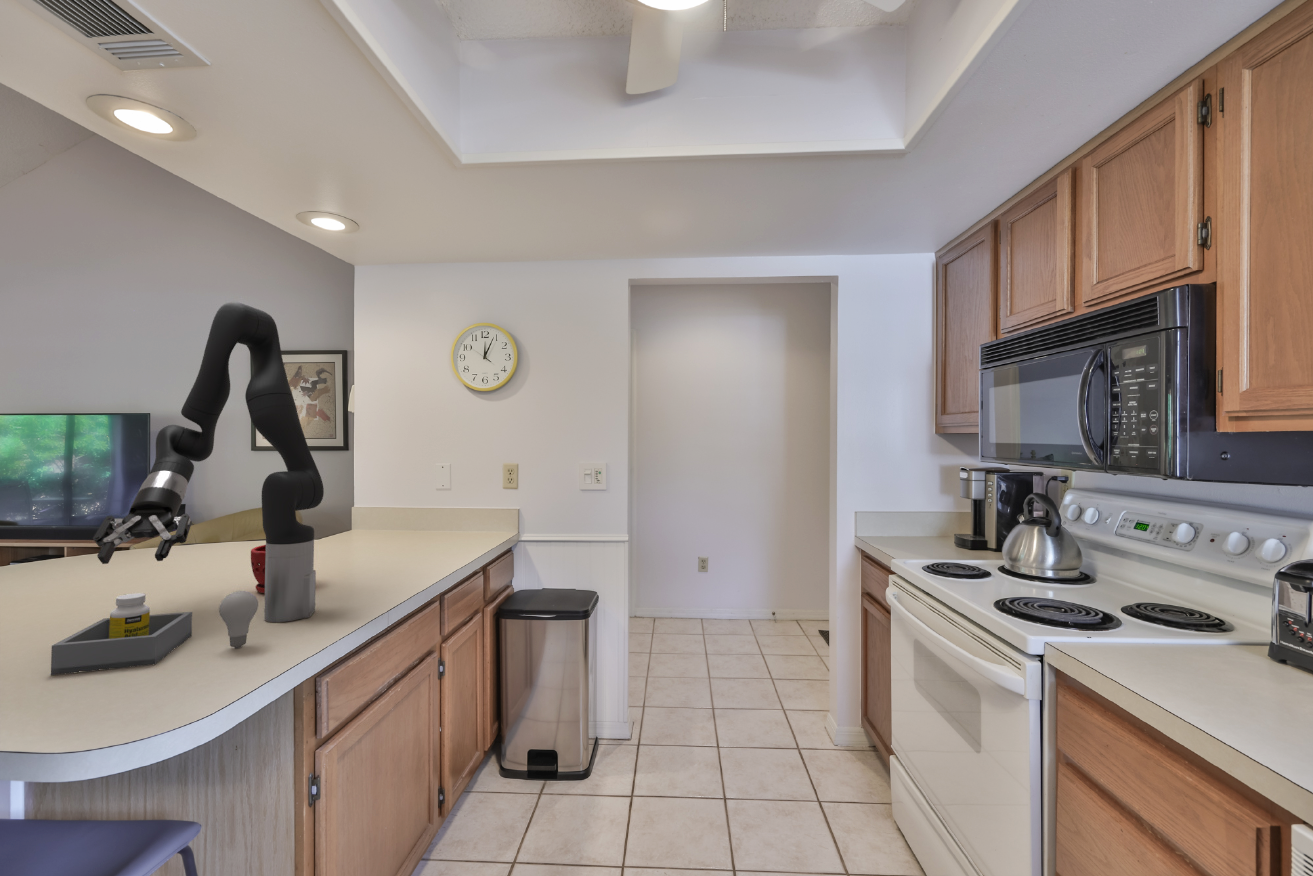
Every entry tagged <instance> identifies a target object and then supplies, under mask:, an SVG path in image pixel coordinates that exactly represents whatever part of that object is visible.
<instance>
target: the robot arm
mask: <svg viewBox="0 0 1313 876" xmlns="http://www.w3.org/2000/svg"><path fill="white" fill-rule="evenodd" d="M211 323H212V324H211V326H210V329H209V334H208V337H207V341H206V345H205V348H204V351H203V355H202V360H201V364H200V368H199V370H198V373H197V376H196V379H195V381H194V383H193V385H192V387H191V389H190V392H189V393H188V395H187V397H186V399H185V401H184V404H183V405H182V407H181V411H180V413H181V415H182V417H183V418H185V419H187V420H188V421H191V422H193V423H194V424H196V425H197V426H199V427H200V429H201V431H199V430H195V429H192V428H188V427H185V426H181V425H179V424H170V425H169V424H168V425H166V426H163V428H161V429H160V430H159V431H158V433H157V435H156V438H155V459H154V462H153V465H152V467H151V469H150V471H149V473H148V475H147V477H146V479H145V480H144V481H143V482H142V483H141V486H140V488H139V490H138V492H137V494H136V496H135V498H134V499H133V502H132V504H131V506H130V508H129V512H128V514H127V515H125V517H123V518H114V516H113V515H107V516H106V517H105V518H104V520H103V521H102V523H101V524H100V526H99V528H98V529H97V530H96V532H95V534H94V535H93V537H92V539H93V541H94V542H95V544H96V546H97V547H98V548H99V547H100V550H99V551H98V553H97V559H98V560H99V561H100V563H101V564H102V565H106V564H109V563H110V561H111V559H112V557H113V554H114V553H115V551H116V548H117V547H118V546H120V545H122V544H123V543H127V542H129V541H131V540H132V539H134V538H135V539H141V538H149V539H150V538H151V539H152V538H155V537H157V536H159V537H160V538H161V540H160V541H159V544H158V546H157V548H156V551H155V554H154V558H155V560H156V561H157V562H163V560H164V559H167V558H168V556H169V554H170V552H171V549H172V547H173V546H174V545H175V544H184V543H186V541H187V539H188V536H189V533H190V530H191V527H192V520H191V518H190V516H189V514H188V513H183V514H182V515H181V516H177V515H178V512H179V509H180V507H181V504H182V503H183V500H185V497H186V493H187V489H188V486H189V483H190V480H191V478H192V476H193V473H194V471H195V466H194V463H193V462H198V463H199V462H203V461H205V460H207V459H208V458H209V457H210V456H211V454H212V453H213V450H214V443H215V434H216V427H217V423H218V421H219V418H220V416H221V413H222V412H223V411H224V408H225V406H226V404H227V402H228V400H229V397H230V393H231V379H230V370H229V367H230V366H229V365H230V363H229V362H230V358H231V354H232V352H233V350H234V348H235V346H236V345H237V344H240V345H244V346H246V347H247V349H248V351H249V354H250V357H251V361H252V366H253V371H252V373H251V374H252V375H251V376H250V379H249V381H248V384H247V387H246V389H245V395H244V396H245V402H246V406H247V410H248V414H249V417H250V420H251V423H252V425H253V426H254V428H255V429H256V430H257V432H258V433H259V434H260V435H261V436H262V437H263V438H264V439H265V440H266V441H267V442H268V443H269V444H270V445H271V447H273V448H274V449H275V450H276V451H277V453H278V454H279V455H280V457H281V458H282V461H283V462H284V465H285V467H286V471H283V470H282V471H276V472H274V471H273V472H272V473H270V474H268V475H267V476H266V478H265V479H264V481H263V483H262V488H261V513H262V514H261V515H262V529H263V532H264V535H265V545H266V560H265V593H264V608H263V609H264V610H263V612H264V613H263V614H264V616H263V618H264V620H265V621H266V622H270V623H283V622H291V621H296V620H301V619H307V618H310V617H311V616H312V614H313V613H314V612H315V610H316V584H317V583H316V581H317V580H316V579H317V572H316V570H315V568H314V565H315V563H314V562H315V558H314V557H315V530H314V529H315V528H314V527H313V526H311V525H307V524H303V523H301V522H299V521H298V520H297V514H296V511H304V510H311V509H315V508H317V507H318V506H320V504H321V503H322V502H323V499H324V494H325V492H324V491H325V489H324V488H325V487H324V484H323V480H322V476H321V475H320V472H319V470H318V467H317V465H316V462H315V460H314V458H313V455H312V453H311V450H310V448H309V445H308V442H307V439H306V436H305V434H304V431H303V427H302V424H301V421H300V416H299V413H298V409H297V405H296V402H295V399H294V396H293V392H292V390H291V386H290V384H289V380H288V376H287V375H288V374H287V372H286V367H285V365H284V361H283V356H282V355H283V354H282V349H281V342H280V336H279V331H278V326H277V323H276V322H275V319H274V318H273V317H272V316H271V315H270V313H267V312H266V311H263V310H261V309H258V308H256V307H253V306H250V305H247V304H244V303H242V302H238V301H229V302H225V303H224V304H223V305H221V306H220V307H219V308H218V310H217V311H216V313H215V315H214V316H213V321H212V322H211ZM175 524H176V525H177V528H176V532H175V534H170V533H169V532H168V529H170V528H171V527H173V526H174V525H175ZM126 531H127V534H125V532H126Z"/></svg>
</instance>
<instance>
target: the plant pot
mask: <svg viewBox="0 0 1313 876" xmlns="http://www.w3.org/2000/svg"><path fill="white" fill-rule="evenodd" d="M265 560H266V544H262V545H258V546H256V547H253V548H251V549H250V565H251V566H250V567H251V569H252V574H253V576H254V579H255V580H256V582H257V584H256V585H255V590H256V591H257V592H259V593H262V594H265Z"/></svg>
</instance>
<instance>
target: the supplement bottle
mask: <svg viewBox="0 0 1313 876" xmlns="http://www.w3.org/2000/svg"><path fill="white" fill-rule="evenodd" d="M145 602H146V593H143V592H138V593H137V592H136V593H135V592H133V593H127V594H121V595H117V597H116V598H115V606H116V608H114V609H113V610H111V612H109V618H110V627H109V639H114V638H125V637H136V636H148V635H149V616H150V615H151V613H150V612H151V610H150V607H149V605H147V604H144V603H145Z"/></svg>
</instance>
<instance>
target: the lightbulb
mask: <svg viewBox="0 0 1313 876" xmlns="http://www.w3.org/2000/svg"><path fill="white" fill-rule="evenodd" d="M258 608H259V600H258V598H257V596H256V595H255V594H254V593H253V592H250V591H246V590H237V591H233V592H231V593H229V594H228V595H226V596H225V597H224V598H223V599H222V600H221V602H220V604H219V607H218V613H219V617H220V618H221V620H222V621H223V622H224V624H225V626H226V629H227V635H228V638H229V646H230V647H231V648H234V649H240V648H242V647H243V646H245V645H246V644H247V639H248V638H247V636H248V633H249V631H250V624H251V622H252V620H253V618H254V617H255V615H256V613H257V611H258Z"/></svg>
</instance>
